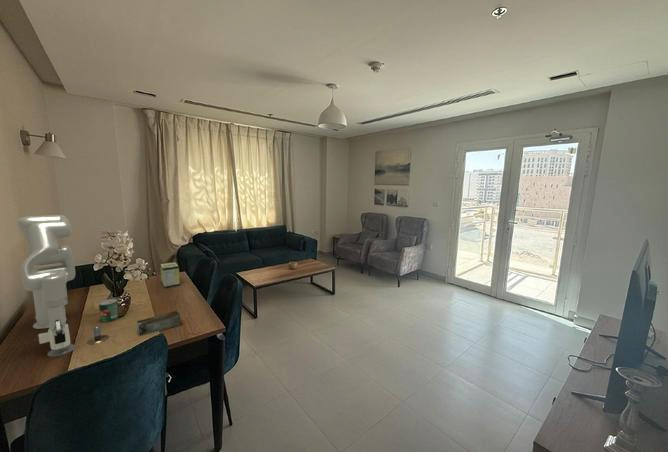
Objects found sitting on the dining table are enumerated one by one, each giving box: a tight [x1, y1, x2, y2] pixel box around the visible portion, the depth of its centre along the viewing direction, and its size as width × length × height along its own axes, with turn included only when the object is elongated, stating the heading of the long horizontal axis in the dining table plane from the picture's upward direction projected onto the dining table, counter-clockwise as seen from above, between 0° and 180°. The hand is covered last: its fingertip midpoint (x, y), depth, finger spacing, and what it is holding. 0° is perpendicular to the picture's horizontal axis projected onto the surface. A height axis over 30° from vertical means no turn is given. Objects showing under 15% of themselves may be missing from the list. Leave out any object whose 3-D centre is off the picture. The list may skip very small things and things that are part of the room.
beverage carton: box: [136, 310, 181, 337], centre depth 144 cm, size 8×19×7 cm, turn 133°
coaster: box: [47, 343, 76, 358], centre depth 122 cm, size 9×9×1 cm
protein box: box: [159, 261, 181, 289], centre depth 208 cm, size 10×16×16 cm
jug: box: [37, 323, 72, 350], centre depth 120 cm, size 6×9×9 cm, turn 127°
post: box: [86, 325, 110, 346], centre depth 131 cm, size 8×8×7 cm
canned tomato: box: [98, 298, 119, 324], centre depth 151 cm, size 8×8×11 cm
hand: (60, 339), depth 122 cm, fingers closed on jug, 6 cm apart
